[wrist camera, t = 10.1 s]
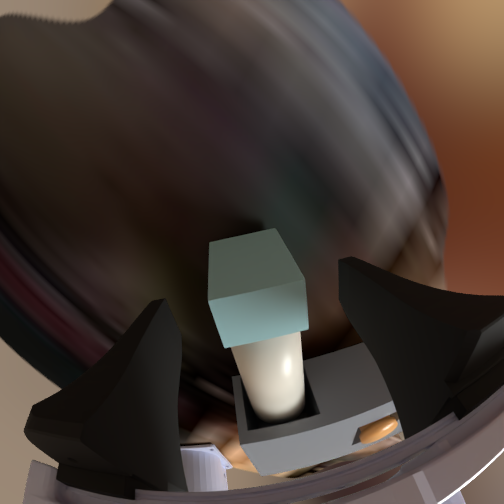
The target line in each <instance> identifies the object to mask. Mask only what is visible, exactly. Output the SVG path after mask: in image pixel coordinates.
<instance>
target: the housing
mask: <svg viewBox="0 0 504 504" xmlns="http://www.w3.org/2000/svg"><path fill="white" fill-rule="evenodd" d="M303 373H304V387H305V407H304V409H303V411H302V413H301V414H300V415H299V416H298V417H297V418H295V419H294V420H292V421H290V422H288V423H284V424H270V423H266V422H264V421H262V420H261V419H259V418H258V417H257V415H256V414H255V412H254V410H253V407H252V405H251V402H250V399H249V397H248V394H247V391H246V389H245V386H244V383H243V381H242V378H241V375H238V376H232V381H233V390H234V399H235V408H236V416H237V425H238V433H239V441H240V446H241V447H242V449H243V450H244V452H245V453H246V455H247V456H248V458H249V459H250V461H251V462H252V464H253V465H254V466H255V468H256V469H257V471H258V472H259V473H260V475H261V476H266V475H271V474H277V473H282V472H286V471H291V470H295V469H299V468H304V467H307V466H311V465H315V464H318V463H322V462H325V461H329V460H332V459H335V458H338V457H341V456H344V455H347V454H350V453H352V452H355V451H358V450H360V449H363V448H366V447H368V446H371V445H373V444H375V443H378V442H380V441H382V440H385V439H387V438H389V437H391V436H393V435H396V434H398V433H400V432H402V427H401V424H400V421H399V417H398V414H397V411H396V409H395V406H394V403H393V400H392V397H391V395H390V393H389V390H388V388H387V385H386V383H385V380H384V378H383V376H382V374H381V372H380V370H379V367H378V365H377V363H376V361H375V360H374V358H373V356H372V354H371V353H370V351H369V350H368V348H367V347H366V345H365V344H364V342H362V343H359V344H357V345H354V346H351V347H348V348H344V349H341V350H338V351H335V352H332V353H328V354H325V355H322V356H318V357H315V358H311V359H307V360H304V361H303ZM388 415H389V416H390V417H395V419H396V421H397V423H398V426H397V427H396V428H395V429H394V430H393V431H392V432H391V433H389V434H388V435H386V436H385V437H383V438H381V439H379V440H377V441H374V442H371V443H368V444H362V443H361V441H360V438H359V435H360V433H361V431H360V428H359V427H361V426H364V425H367V424H369V423H372V422H374V421H376V420H379V419H381V418H383V417H386V416H388Z"/></svg>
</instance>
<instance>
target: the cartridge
mask: <svg viewBox="0 0 504 504" xmlns="http://www.w3.org/2000/svg"><path fill="white" fill-rule="evenodd" d="M208 303H209V306H210V309H211V312H212V314H213V317H214V320H215V323H216V326H217V329H218V332H219V334H220V337H221V340H222V343H223V346H224V348H228V347H231V350H232V353H233V355H234V358H235V361H236V364H237V367H238V370H239V372H240V375H241V378H242V381H243V383H244V386H245V389H246V391H247V394H248V397H249V399H250V402H251V405H252V407H253V410H254V412H255V414H256V415H257V417H258V418H259V419H261V420H262V421H264V422H266V423H270V424H284V423H288V422H290V421H292V420H294V419H295V418H297V417H298V416H299V415H300V414H301V413H302V411H303V409H304V407H305V387H304V373H303V359H302V347H301V336H300V331H303V330H307V329H309V325H308V310H307V297H306V285H305V278H304V277H303V275H302V273H301V271H300V270H299V268H298V266H297V264H296V263H295V261H294V259H293V257H292V256H291V254H290V252H289V250H288V249H287V247H286V245H285V243H284V242H283V240H282V238H281V237H280V235H279V233H278V232H277V230H276V228H273V229H268V230H264V231H259V232H254V233H250V234H245V235H241V236H236V237H231V238H227V239H222V240H218V241H213V242H209V270H208Z"/></svg>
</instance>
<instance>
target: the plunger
mask: <svg viewBox="0 0 504 504" xmlns="http://www.w3.org/2000/svg"><path fill="white" fill-rule="evenodd" d="M397 426H398V423H397V421H396V419H395V417H390V416H389V415H388V416H386V417H383V418H381V419H379V420H376V421H374V422H372V423H369V424H367V425H364V426H361V427H359V428H360V431H361V433H360V435H359V438H360V441H361V443H362V444H368V443H371V442H374V441H377V440H379V439H381V438H383V437H385V436H386V435H388V434H389V433H391V432H392V431H393V430H394V429H395V428H396V427H397Z"/></svg>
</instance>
